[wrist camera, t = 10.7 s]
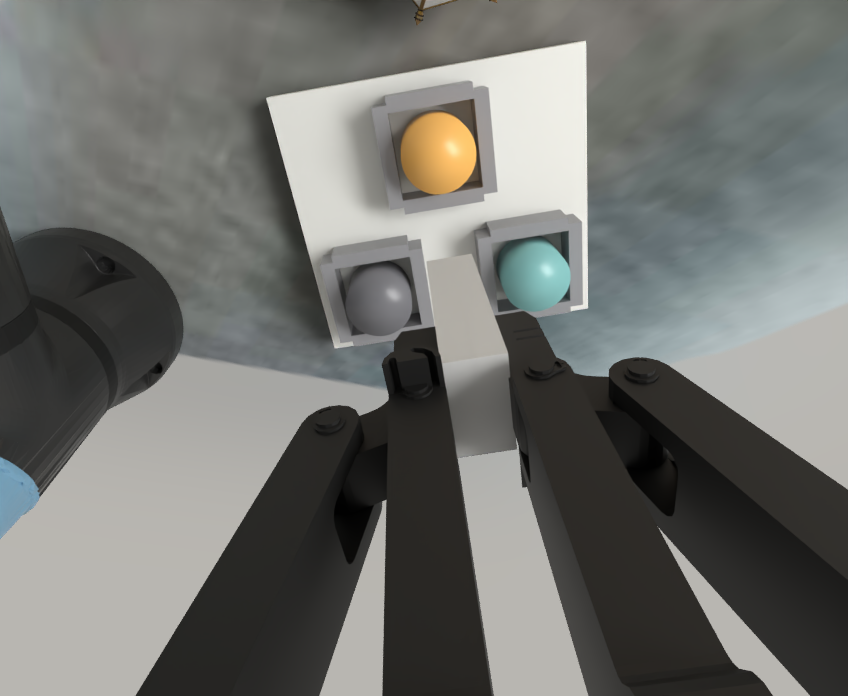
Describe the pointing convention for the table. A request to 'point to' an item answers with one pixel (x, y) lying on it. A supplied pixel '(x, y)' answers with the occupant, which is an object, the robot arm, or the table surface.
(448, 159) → the orange button
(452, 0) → the grey spiky polyhedron
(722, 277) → the table surface
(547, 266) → the teal button
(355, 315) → the charcoal button
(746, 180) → the table surface
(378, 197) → the panel
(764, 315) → the table surface
